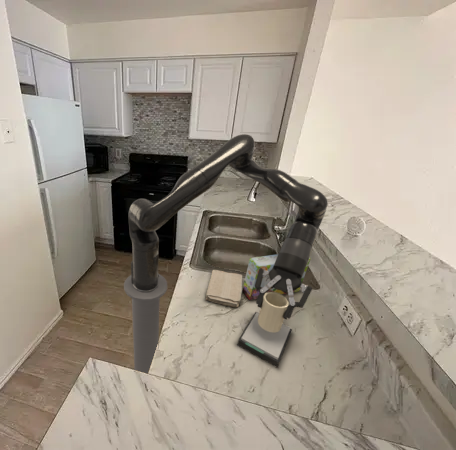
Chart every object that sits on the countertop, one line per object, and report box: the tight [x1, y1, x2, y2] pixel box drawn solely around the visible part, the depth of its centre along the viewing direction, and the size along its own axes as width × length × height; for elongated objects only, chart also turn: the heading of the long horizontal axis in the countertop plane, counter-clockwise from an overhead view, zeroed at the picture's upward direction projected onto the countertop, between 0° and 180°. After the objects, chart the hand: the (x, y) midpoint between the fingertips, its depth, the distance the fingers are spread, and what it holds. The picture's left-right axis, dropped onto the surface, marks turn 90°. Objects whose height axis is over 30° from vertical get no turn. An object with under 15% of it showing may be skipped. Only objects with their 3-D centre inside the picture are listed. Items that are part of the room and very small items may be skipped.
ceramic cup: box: [258, 292, 290, 333], centre depth 70 cm, size 6×6×9 cm
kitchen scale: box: [237, 311, 293, 368], centre depth 74 cm, size 11×14×3 cm
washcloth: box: [205, 269, 243, 308], centre depth 94 cm, size 12×18×3 cm, turn 162°
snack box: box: [242, 253, 311, 301], centre depth 91 cm, size 21×6×15 cm, turn 105°
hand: (271, 312), depth 69 cm, fingers closed on ceramic cup, 6 cm apart
